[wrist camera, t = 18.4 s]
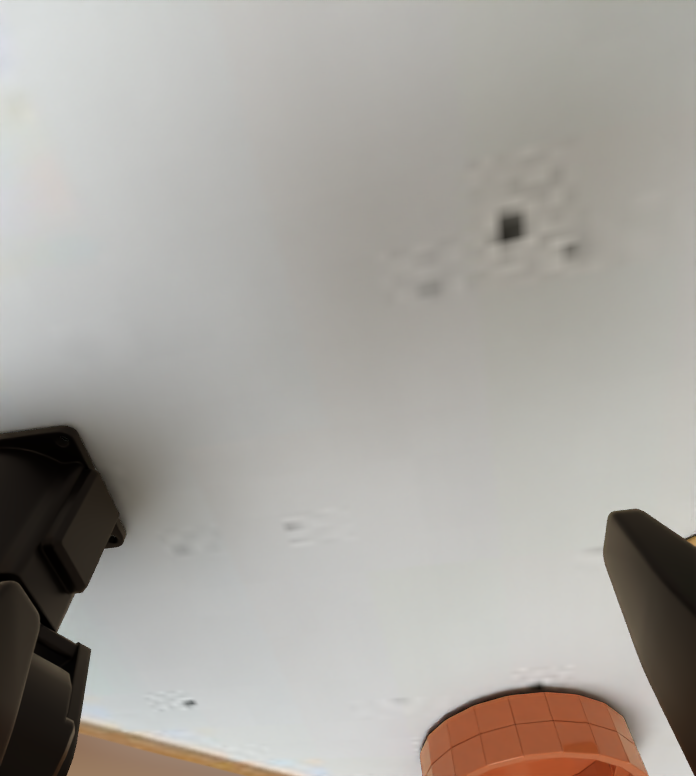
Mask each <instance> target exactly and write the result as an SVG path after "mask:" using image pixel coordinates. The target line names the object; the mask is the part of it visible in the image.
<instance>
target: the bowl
mask: <svg viewBox="0 0 696 776" xmlns="http://www.w3.org/2000/svg"><path fill="white" fill-rule="evenodd" d="M420 760H421V768H422V776H649V775H648V773H647V770H646V768H645V766H644V763H643V761H642V759H641V757H640V754H639V752H638V750H637V747H636V745H635V743H634V740H633V738H632V736H631V733H630V731H629V729H628V726H627V724H626V722H625V719H624V718H623V716H622V715H620V714H619V713H618V712H616V711H615V710H614V709H612V708H611V707H610V706H608V705H607V704H606V703H603V702H600V701H597V700H594V699H591V698H587V697H584V696H581V695H577V694H566V693H553V692H544V693H543V692H538V693H528V694H518V695H509V696H505V697H501V698H497V699H494V700H490V701H487V702H483V703H480V704H476V705H474V706H472V707H470V708H468V709H466V710H464V711H462V712H460V713H458V714H456V715H454V716H452V717H450V718H448V719H446V720H445V721H444V722H443V723H441V724H440V725H439V726H438V727H437V728H436V729H435V730H434V731H433V732H432V733H430V734H429V735H428V737H427V739H426V742H425V744H424V746H423V748H422V750H421V753H420Z"/></svg>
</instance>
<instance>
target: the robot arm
mask: <svg viewBox="0 0 696 776" xmlns="http://www.w3.org/2000/svg"><path fill="white" fill-rule="evenodd" d="M60 436H61V437H65V438H67V439H68V440H69V441H66V440H64V439H62V438H61V437H60ZM111 535H113V536H111ZM114 536H115V537H114ZM125 537H126V531H125V529H124V527H123V525H122V523H121V521H120V519H119V512H118V510H117V508H116V506H115V504H114V502H113V500H112V498H111V496H110V494H109V492H108V490H107V488H106V485H105V483H104V481H103V479H102V477H101V475H100V473H99V472H98V471H97V470H96V469H95V467H94V465H93V463H92V461H91V459H90V457H89V455H88V452H87V450H86V448H85V446H84V444H83V442H82V440H81V438H80V436H79V434H78V433H77V431H76V430H75V429H73V428H72V427H69V426H55V427H47V428H40V429H33V430H25V431H18V432H10V433H3V434H0V776H66V775H67V773H68V770H69V768H70V765H71V762H72V759H73V756H74V752H75V748H76V744H77V737H78V731H79V724H80V718H81V712H82V705H83V699H84V693H85V686H86V680H87V673H88V667H89V661H90V654H91V649H89V648H88V647H86V646H84V645H82V644H81V643H79V642H78V643H76V644H75V643H74V642H72V641H70V640H68V639H67V638H65V637H63V636H62V635H60V634H58V633H57V631H58V629H59V627H60V625H61V623H62V620H63V618H64V616H65V614H66V612H67V610H68V608H69V605H70V603H71V601H72V599H73V597H74V595H75V593H82V592H83V591H84V590H85V589H86V587H87V586H88V584H89V582H90V580H91V577H92V575H93V573H94V571H95V568H96V566H97V564H98V562H99V560H100V557H101V555H102V553H103V551H104V549H106V548H114V547H119V546H121V545H122V544H123V542H124V539H125ZM603 556H604V562H605V566H606V569H607V572H608V574H609V577H610V580H611V583H612V585H613V588H614V591H615V594H616V597H617V599H618V602H619V605H620V608H621V610H622V613H623V616H624V619H625V622H626V624H627V627H628V630H629V633H630V635H631V638H632V641H633V644H634V647H635V649H636V652H637V655H638V657H639V660H640V662H641V665H642V667H643V670H644V672H645V674H646V676H647V678H648V681H649V683H650V685H651V687H652V689H653V691H654V693H655V695H656V697H657V699H658V702H659V704H660V706H661V708H662V710H663V712H664V714H665V716H666V718H667V720H668V722H669V724H670V726H671V728H672V730H673V732H674V734H675V737H676V739H677V741H678V743H679V745H680V747H681V749H682V751H683V753H684V755H685V757H686V759H687V761H688V763H689V765H690V767H691V769H692V772H693V774H694V776H696V546H694V545H693V544H691V543H690V542H688V541H687V540H685V539H684V538H682V537H681V536H679V535H678V534H676V533H675V532H673V531H672V530H671V529H669V528H668V527H666V526H665V525H663V524H662V523H660V522H659V521H657V520H656V519H654V518H653V517H651V516H650V515H648V514H647V513H646V512H644V511H642V510H639V509H628V510H620V511H613V512H611V513H610V514H609V516H608V519H607V526H606V533H605V540H604V548H603Z"/></svg>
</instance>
